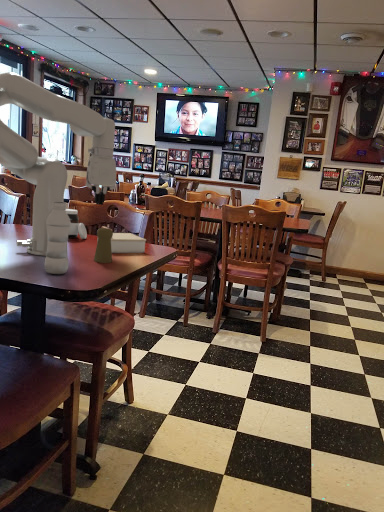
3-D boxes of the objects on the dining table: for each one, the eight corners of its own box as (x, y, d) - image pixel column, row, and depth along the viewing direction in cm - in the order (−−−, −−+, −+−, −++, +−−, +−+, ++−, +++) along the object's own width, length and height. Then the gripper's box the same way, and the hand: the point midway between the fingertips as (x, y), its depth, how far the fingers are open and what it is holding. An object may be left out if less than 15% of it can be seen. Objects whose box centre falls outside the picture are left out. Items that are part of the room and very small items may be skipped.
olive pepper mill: (115, 261, 135) (118, 229, 133) (103, 263, 130) (105, 230, 128) (102, 258, 138) (104, 226, 136) (89, 260, 133) (91, 227, 131)
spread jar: (57, 234, 174) (58, 207, 172) (83, 235, 179) (85, 209, 177) (60, 239, 164) (62, 211, 161) (88, 240, 169) (90, 213, 166)
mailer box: (110, 253, 148) (111, 241, 147) (97, 245, 159) (97, 234, 158) (144, 252, 155) (145, 241, 155) (129, 245, 167) (130, 235, 166)
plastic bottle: (43, 276, 108) (46, 202, 104) (44, 270, 114) (47, 200, 111) (68, 277, 110) (71, 204, 106) (68, 271, 116) (71, 202, 112)
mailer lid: (110, 240, 147) (111, 231, 146) (97, 234, 158) (97, 225, 158) (146, 241, 155) (146, 231, 154) (130, 234, 166) (131, 226, 166)
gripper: (85, 151, 138) (82, 204, 141) (125, 156, 146) (122, 206, 150) (78, 151, 144) (76, 202, 148) (117, 156, 152) (114, 204, 156)
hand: (99, 204), depth 149 cm, fingers closed
